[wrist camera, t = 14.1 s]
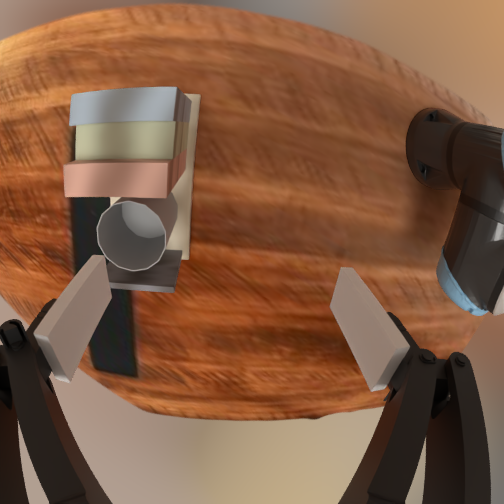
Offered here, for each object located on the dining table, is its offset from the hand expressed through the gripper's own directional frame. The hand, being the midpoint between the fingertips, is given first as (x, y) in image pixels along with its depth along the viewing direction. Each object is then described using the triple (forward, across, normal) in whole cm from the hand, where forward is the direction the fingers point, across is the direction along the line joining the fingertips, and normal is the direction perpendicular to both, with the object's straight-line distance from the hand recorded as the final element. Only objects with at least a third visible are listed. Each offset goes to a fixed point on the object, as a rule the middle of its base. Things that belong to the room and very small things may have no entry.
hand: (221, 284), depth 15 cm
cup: (+25, -10, -4) cm, 27 cm away
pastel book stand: (+27, -10, 0) cm, 29 cm away
